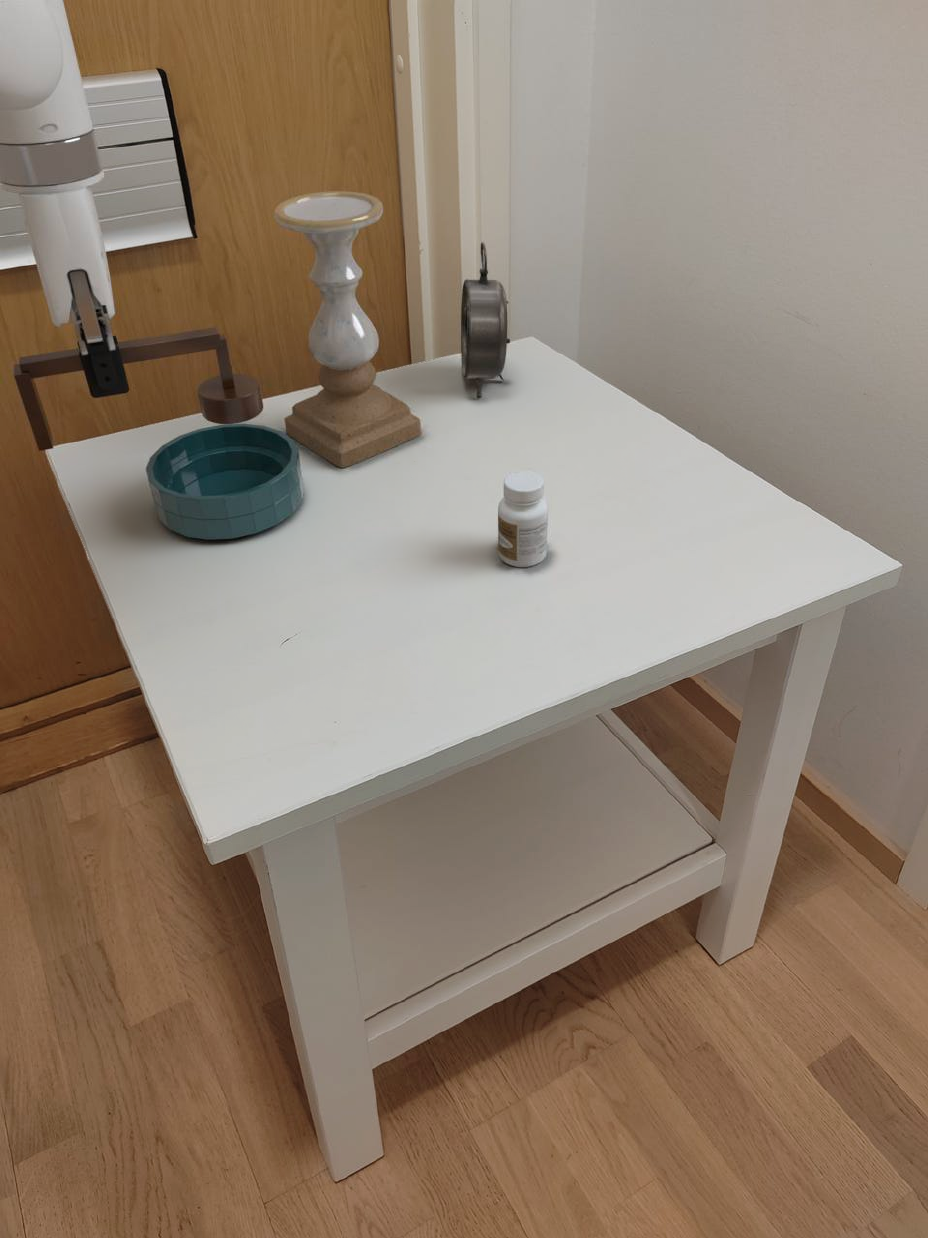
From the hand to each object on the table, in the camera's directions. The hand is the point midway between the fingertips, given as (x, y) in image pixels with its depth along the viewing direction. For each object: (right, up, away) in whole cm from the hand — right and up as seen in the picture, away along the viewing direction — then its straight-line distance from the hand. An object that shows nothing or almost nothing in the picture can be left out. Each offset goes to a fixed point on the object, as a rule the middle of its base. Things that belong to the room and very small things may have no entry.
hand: (109, 387), depth 83 cm
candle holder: (+19, 0, +22) cm, 29 cm away
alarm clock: (+33, +8, +31) cm, 46 cm away
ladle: (+3, -3, +3) cm, 5 cm away
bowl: (+8, -9, +11) cm, 16 cm away
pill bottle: (+36, -14, +4) cm, 39 cm away
